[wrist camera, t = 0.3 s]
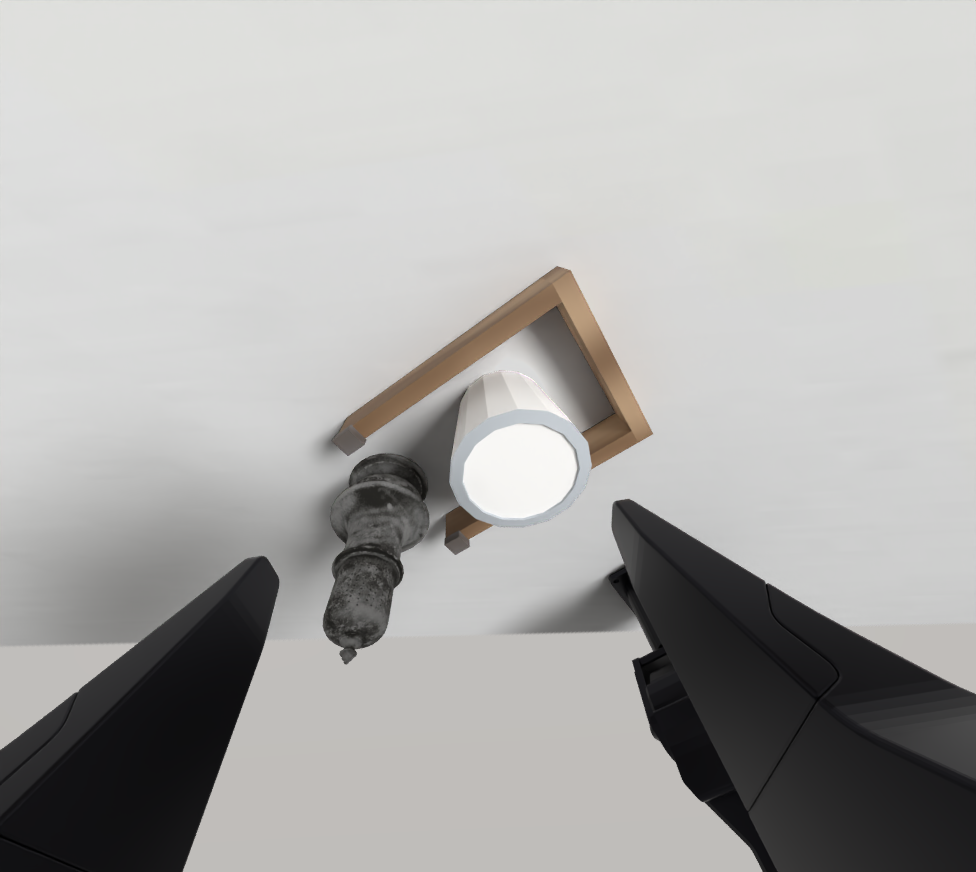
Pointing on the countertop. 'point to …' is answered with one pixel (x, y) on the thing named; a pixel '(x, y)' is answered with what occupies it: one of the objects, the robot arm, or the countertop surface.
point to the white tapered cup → (515, 453)
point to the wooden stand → (484, 338)
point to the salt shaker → (373, 547)
